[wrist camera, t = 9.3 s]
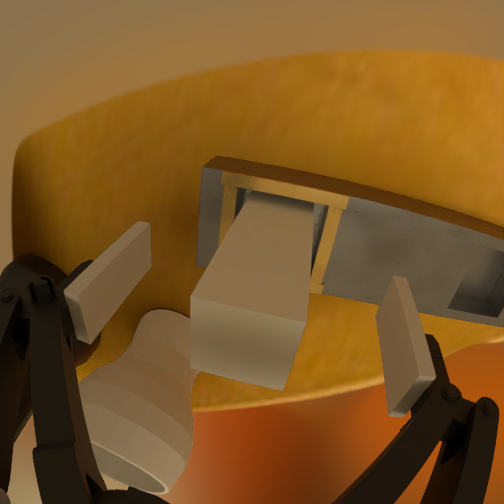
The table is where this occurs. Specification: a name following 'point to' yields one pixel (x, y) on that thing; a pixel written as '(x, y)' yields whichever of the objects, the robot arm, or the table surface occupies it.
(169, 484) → the cup
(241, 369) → the peg
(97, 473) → the robot arm
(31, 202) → the table surface
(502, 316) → the grey peg hole board
